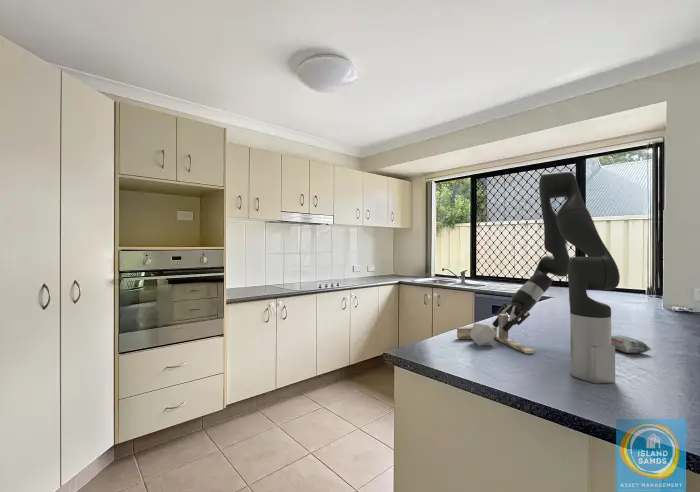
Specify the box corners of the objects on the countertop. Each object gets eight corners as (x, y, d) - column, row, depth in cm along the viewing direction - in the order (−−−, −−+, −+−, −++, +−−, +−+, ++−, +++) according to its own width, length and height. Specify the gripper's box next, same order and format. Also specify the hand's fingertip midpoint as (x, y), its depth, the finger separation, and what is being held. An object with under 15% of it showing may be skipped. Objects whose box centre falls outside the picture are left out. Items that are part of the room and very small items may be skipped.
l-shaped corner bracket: (534, 353, 111) (533, 323, 111) (486, 355, 108) (486, 325, 108) (497, 336, 132) (497, 311, 132) (457, 337, 130) (457, 312, 130)
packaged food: (628, 357, 108) (628, 342, 108) (597, 346, 119) (597, 332, 119) (652, 356, 109) (652, 341, 109) (618, 345, 120) (619, 332, 120)
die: (496, 350, 116) (503, 326, 120) (474, 338, 116) (482, 315, 120) (483, 352, 124) (490, 329, 128) (463, 341, 124) (470, 318, 128)
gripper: (509, 287, 133) (482, 317, 132) (534, 291, 119) (503, 325, 118) (521, 299, 134) (494, 330, 132) (547, 306, 120) (517, 340, 118)
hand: (499, 327), depth 125 cm, fingers open, 6 cm apart
